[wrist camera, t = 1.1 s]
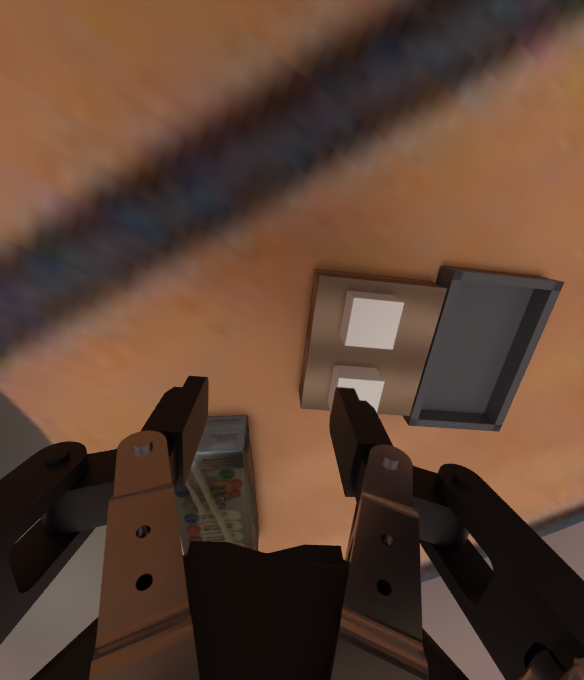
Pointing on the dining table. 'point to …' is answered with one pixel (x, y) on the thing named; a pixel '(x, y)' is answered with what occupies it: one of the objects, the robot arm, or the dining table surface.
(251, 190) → the dining table surface
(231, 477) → the beverage carton
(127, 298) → the dining table surface
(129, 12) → the dining table surface
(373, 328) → the tile
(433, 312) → the flat wooden board
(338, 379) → the tile
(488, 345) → the tray
